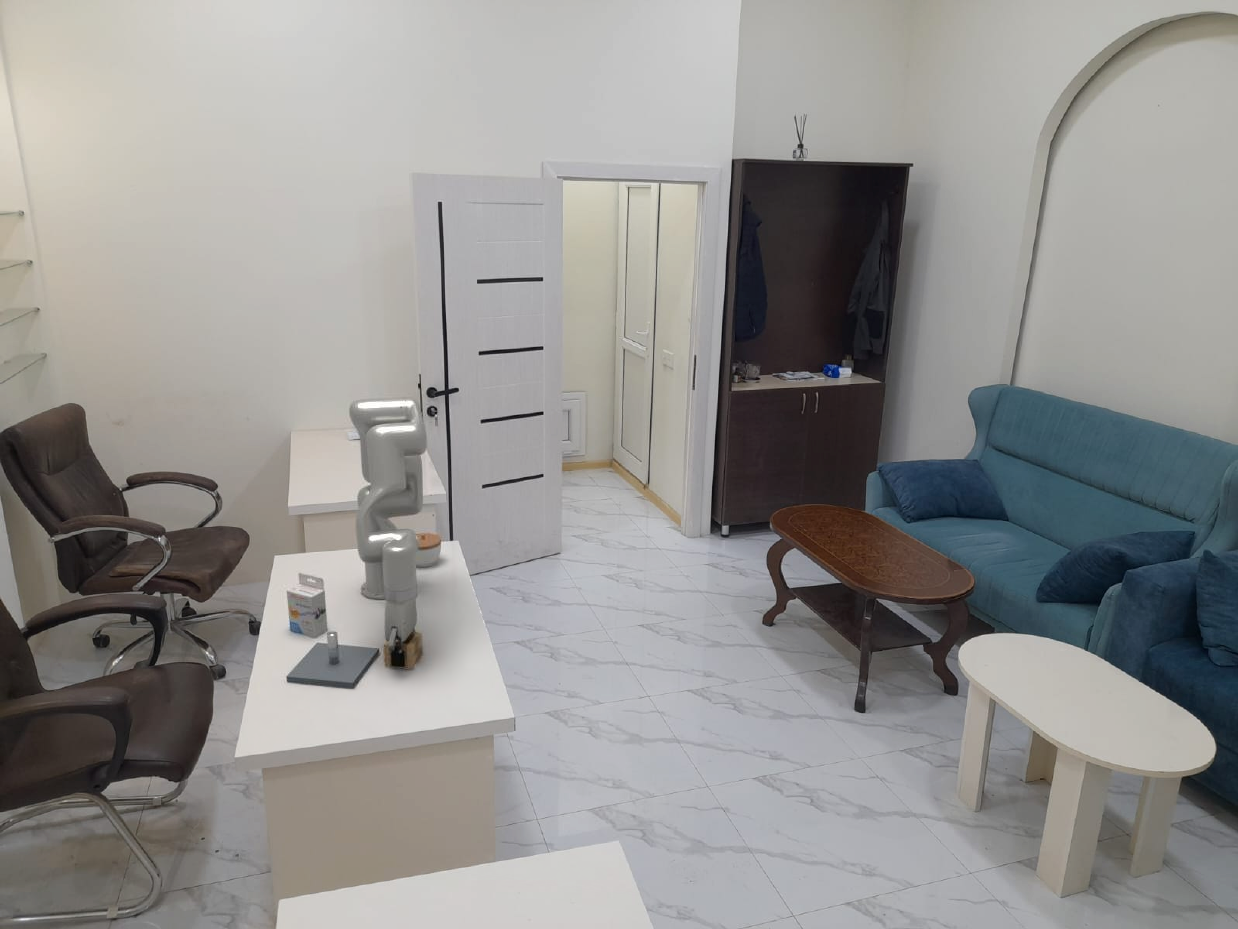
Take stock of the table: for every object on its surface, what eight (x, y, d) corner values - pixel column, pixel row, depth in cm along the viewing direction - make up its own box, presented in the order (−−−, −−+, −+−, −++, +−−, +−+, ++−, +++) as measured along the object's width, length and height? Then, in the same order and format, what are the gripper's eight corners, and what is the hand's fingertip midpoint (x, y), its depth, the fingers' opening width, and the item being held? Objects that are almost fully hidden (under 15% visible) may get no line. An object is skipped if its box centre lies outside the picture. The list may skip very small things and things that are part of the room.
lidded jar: (406, 571, 265) (404, 542, 262) (405, 557, 275) (404, 529, 272) (442, 569, 267) (441, 540, 264) (441, 554, 277) (440, 527, 274)
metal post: (331, 658, 213) (329, 631, 211) (341, 659, 213) (339, 631, 210) (327, 664, 211) (324, 635, 208) (336, 665, 211) (334, 636, 208)
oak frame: (395, 652, 220) (394, 630, 218) (422, 654, 219) (421, 632, 217) (384, 666, 213) (383, 644, 212) (413, 669, 213) (411, 646, 211)
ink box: (289, 631, 228) (284, 579, 224) (302, 623, 233) (298, 571, 228) (315, 638, 225) (310, 585, 221) (328, 630, 230) (324, 578, 225)
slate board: (317, 648, 221) (317, 642, 220) (379, 653, 219) (379, 648, 218) (286, 682, 206) (286, 676, 205) (353, 688, 204) (352, 682, 203)
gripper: (398, 575, 219) (401, 639, 225) (371, 606, 203) (375, 675, 208) (427, 577, 219) (430, 641, 224) (403, 609, 202) (406, 678, 207)
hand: (403, 657), depth 216 cm, fingers closed on oak frame, 7 cm apart
